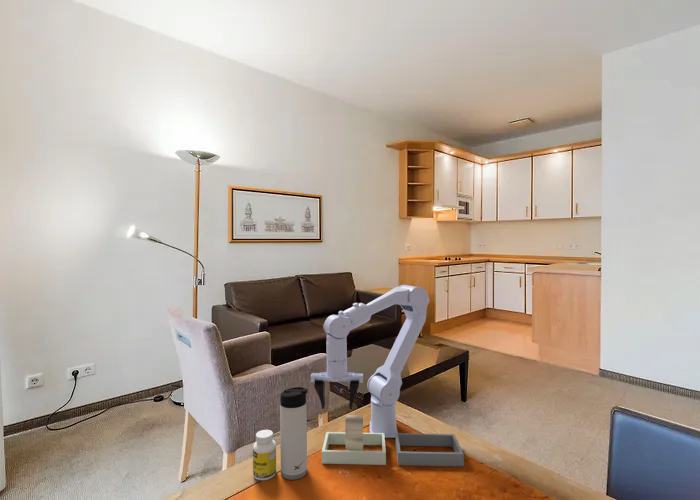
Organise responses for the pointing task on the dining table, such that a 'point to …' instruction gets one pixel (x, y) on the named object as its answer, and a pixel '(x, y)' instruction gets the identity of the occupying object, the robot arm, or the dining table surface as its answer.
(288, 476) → the travel mug
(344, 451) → the bin
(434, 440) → the bin
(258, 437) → the supplement bottle
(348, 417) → the ash block
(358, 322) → the robot arm
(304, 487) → the dining table surface
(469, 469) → the dining table surface
